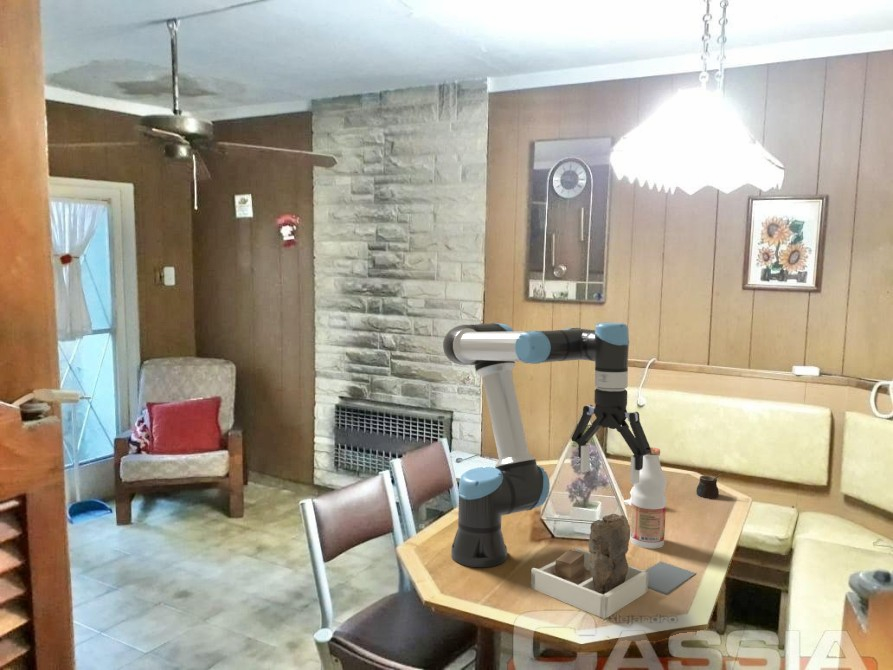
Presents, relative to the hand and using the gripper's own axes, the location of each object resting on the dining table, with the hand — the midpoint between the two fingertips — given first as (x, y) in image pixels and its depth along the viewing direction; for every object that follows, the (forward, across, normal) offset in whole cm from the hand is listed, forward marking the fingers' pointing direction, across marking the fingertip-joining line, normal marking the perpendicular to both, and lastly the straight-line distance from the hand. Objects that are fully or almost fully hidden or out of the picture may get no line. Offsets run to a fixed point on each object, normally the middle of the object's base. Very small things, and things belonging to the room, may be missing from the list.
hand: (609, 477), depth 168 cm
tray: (+29, -5, 0) cm, 30 cm away
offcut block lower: (+29, -11, 0) cm, 31 cm away
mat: (+29, +4, +20) cm, 36 cm away
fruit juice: (+29, -10, +37) cm, 48 cm away
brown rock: (+30, 0, 0) cm, 30 cm away
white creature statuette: (+29, -28, +61) cm, 73 cm away
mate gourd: (+29, -16, +87) cm, 93 cm away
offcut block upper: (+26, -11, 0) cm, 28 cm away
